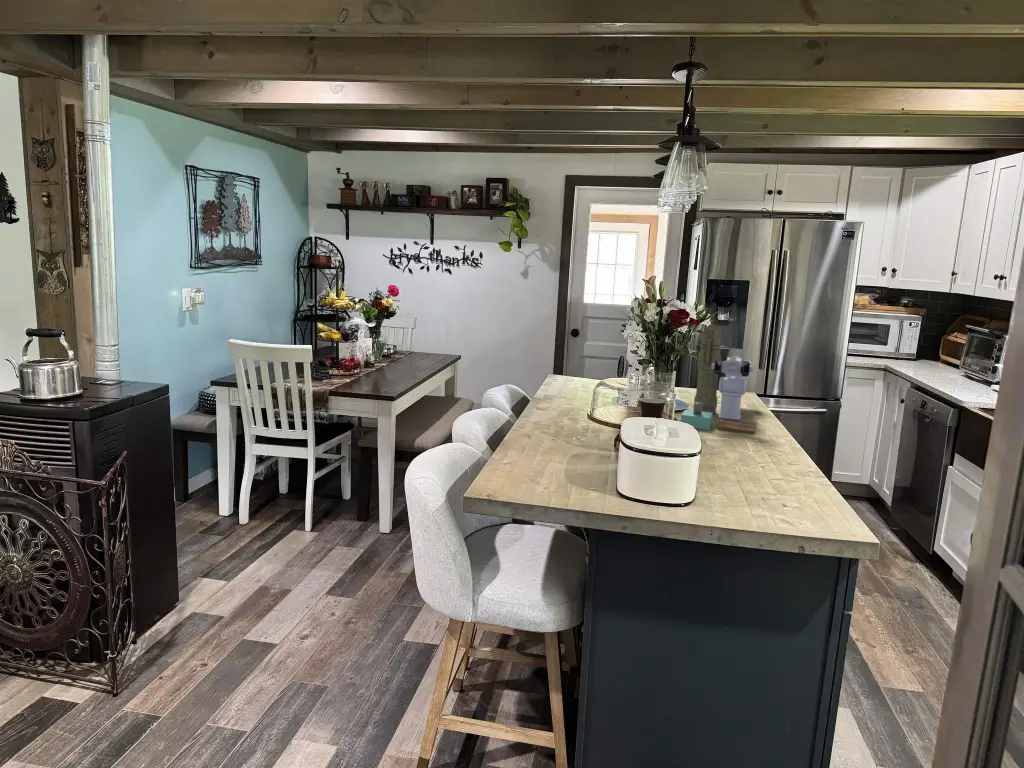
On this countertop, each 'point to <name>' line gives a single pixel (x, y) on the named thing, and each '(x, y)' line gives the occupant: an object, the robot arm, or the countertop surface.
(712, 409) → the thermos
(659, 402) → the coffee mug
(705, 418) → the cover
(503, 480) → the countertop surface
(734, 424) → the walnut board
